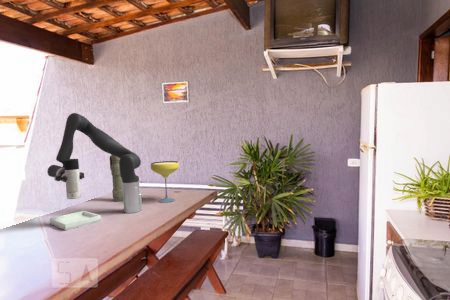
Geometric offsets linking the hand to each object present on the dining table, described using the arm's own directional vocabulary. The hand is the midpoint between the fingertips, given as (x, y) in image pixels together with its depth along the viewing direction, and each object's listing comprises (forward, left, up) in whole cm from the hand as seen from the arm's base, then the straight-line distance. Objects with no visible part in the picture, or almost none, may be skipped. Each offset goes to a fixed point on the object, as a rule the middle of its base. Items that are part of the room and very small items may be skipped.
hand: (73, 178), depth 159 cm
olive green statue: (-42, -28, -24) cm, 56 cm away
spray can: (0, -2, -11) cm, 11 cm away
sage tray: (0, -2, -24) cm, 24 cm away
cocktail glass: (-58, +1, -24) cm, 63 cm away
